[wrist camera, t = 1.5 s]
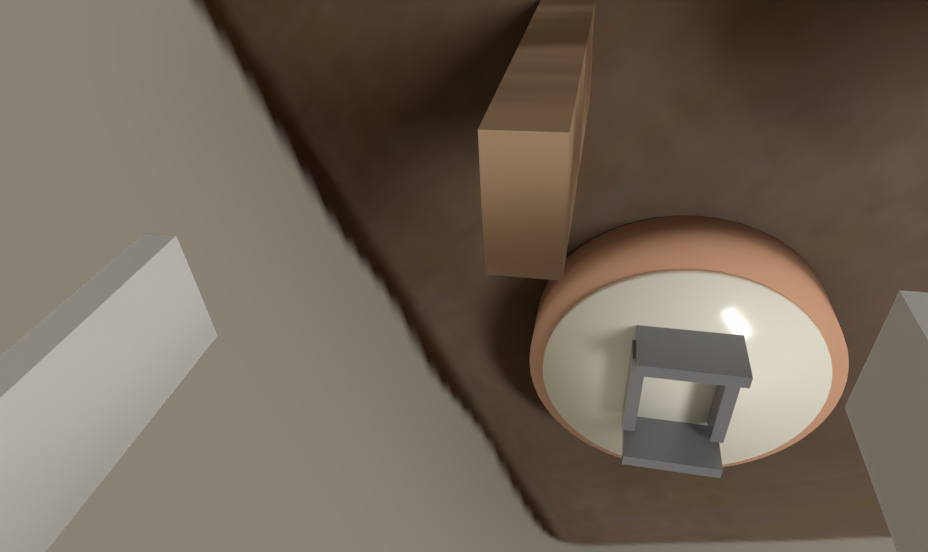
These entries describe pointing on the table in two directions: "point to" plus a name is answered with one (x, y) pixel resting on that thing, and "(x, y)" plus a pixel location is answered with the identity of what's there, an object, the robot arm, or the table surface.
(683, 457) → the peach disc
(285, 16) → the table surface
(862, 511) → the table surface
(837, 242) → the table surface
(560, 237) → the tall wooden post
